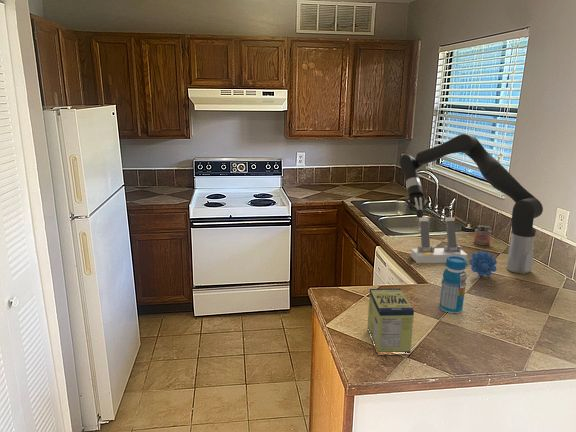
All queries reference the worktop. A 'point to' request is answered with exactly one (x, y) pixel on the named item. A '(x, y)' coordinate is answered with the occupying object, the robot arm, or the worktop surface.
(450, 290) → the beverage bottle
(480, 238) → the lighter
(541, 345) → the worktop surface
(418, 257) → the console
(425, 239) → the lever amber
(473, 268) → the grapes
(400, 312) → the protein box
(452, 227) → the lever grey
